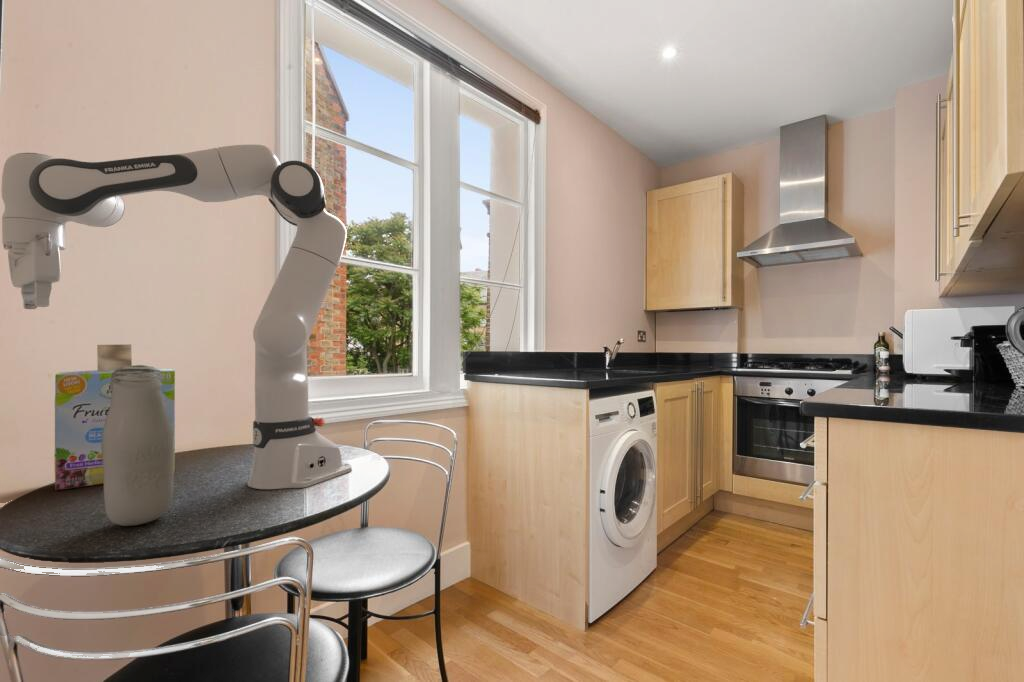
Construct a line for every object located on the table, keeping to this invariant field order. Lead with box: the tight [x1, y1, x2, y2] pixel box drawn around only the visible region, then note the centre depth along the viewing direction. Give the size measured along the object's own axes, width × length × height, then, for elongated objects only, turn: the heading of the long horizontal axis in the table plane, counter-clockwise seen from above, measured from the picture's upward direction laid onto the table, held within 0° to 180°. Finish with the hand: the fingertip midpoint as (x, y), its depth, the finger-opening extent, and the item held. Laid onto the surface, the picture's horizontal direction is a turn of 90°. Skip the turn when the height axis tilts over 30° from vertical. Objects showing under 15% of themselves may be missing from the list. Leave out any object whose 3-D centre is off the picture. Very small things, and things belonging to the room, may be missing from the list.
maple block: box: [96, 343, 133, 371], centre depth 112 cm, size 5×5×6 cm
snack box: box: [54, 368, 176, 491], centre depth 112 cm, size 22×9×26 cm, turn 129°
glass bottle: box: [101, 364, 174, 527], centre depth 84 cm, size 10×10×28 cm
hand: (36, 308), depth 94 cm, fingers open, 8 cm apart
